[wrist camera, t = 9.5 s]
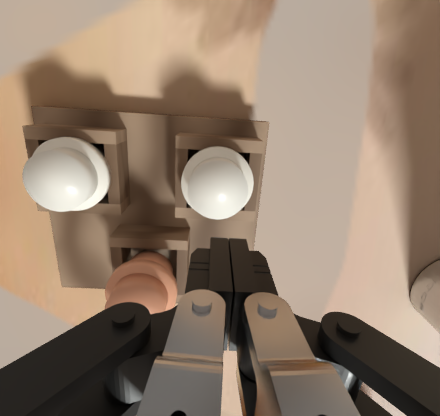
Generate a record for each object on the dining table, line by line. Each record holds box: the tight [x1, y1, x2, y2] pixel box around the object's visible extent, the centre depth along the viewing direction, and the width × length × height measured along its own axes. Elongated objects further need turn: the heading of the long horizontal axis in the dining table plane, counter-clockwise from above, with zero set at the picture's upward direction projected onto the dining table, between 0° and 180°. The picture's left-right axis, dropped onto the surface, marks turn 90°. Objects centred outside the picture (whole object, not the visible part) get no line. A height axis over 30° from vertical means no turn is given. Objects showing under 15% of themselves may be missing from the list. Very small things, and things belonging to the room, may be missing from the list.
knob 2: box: [181, 146, 254, 220], centre depth 23 cm, size 6×6×6 cm
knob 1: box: [23, 137, 111, 212], centre depth 22 cm, size 6×6×6 cm
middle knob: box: [105, 251, 178, 314], centre depth 24 cm, size 6×6×6 cm
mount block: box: [22, 106, 269, 303], centre depth 27 cm, size 21×19×4 cm
